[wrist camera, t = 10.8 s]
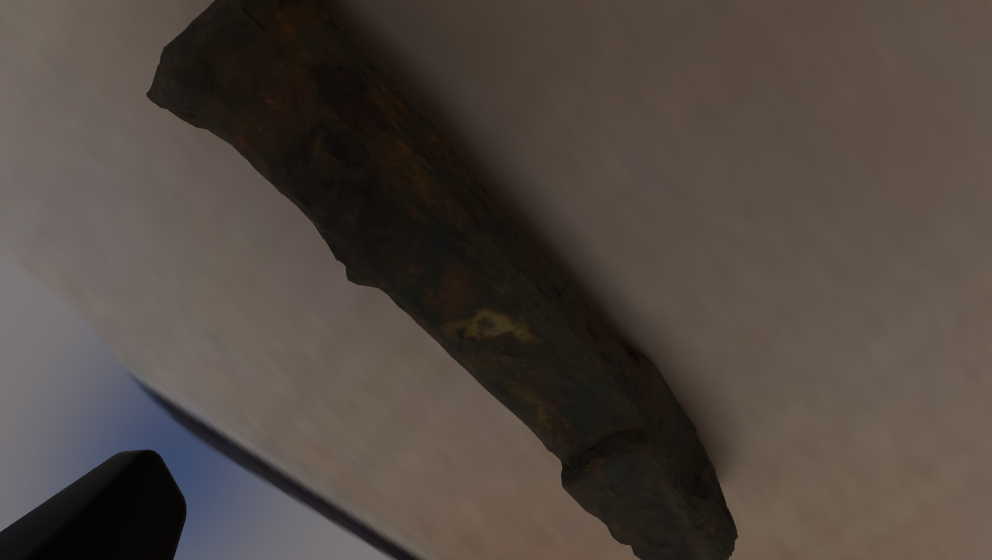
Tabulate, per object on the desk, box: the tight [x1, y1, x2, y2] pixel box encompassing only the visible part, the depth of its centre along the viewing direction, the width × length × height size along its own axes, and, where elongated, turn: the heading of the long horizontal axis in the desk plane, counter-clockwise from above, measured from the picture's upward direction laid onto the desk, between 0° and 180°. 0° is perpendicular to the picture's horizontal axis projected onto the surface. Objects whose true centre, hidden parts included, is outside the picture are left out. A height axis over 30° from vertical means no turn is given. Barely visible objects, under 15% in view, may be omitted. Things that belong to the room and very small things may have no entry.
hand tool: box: [146, 0, 738, 560], centre depth 19 cm, size 19×4×5 cm, turn 39°
